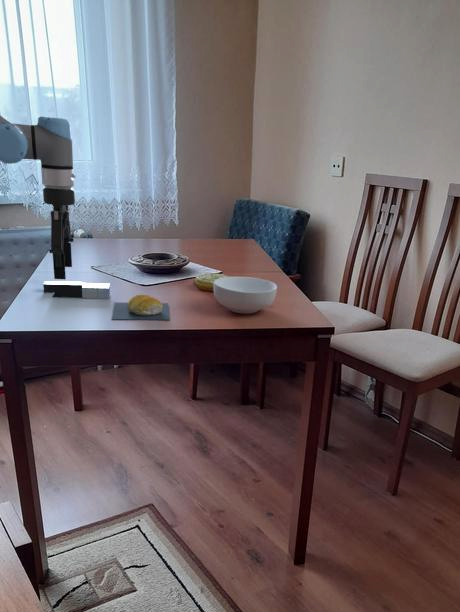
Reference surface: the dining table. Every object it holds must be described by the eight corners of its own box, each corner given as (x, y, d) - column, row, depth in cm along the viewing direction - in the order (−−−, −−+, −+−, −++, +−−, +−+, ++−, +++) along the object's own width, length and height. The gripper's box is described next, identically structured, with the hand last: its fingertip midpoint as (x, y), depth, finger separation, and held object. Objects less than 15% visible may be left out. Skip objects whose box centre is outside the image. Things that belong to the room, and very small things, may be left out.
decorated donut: (234, 292, 162) (234, 280, 160) (197, 292, 160) (198, 279, 158) (227, 283, 171) (228, 271, 169) (193, 283, 169) (193, 270, 167)
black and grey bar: (44, 297, 147) (42, 284, 146) (46, 293, 151) (45, 280, 150) (109, 298, 150) (108, 286, 148) (110, 294, 154) (109, 281, 152)
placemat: (112, 319, 134) (112, 319, 134) (115, 303, 147) (115, 302, 147) (169, 320, 136) (169, 319, 136) (168, 303, 149) (168, 303, 149)
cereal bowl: (284, 318, 143) (286, 291, 140) (222, 320, 139) (223, 292, 135) (262, 299, 157) (264, 274, 154) (205, 301, 153) (206, 275, 150)
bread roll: (147, 304, 147) (147, 289, 145) (167, 313, 141) (167, 297, 139) (120, 309, 142) (120, 293, 140) (140, 318, 136) (139, 302, 134)
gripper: (67, 193, 127) (72, 285, 137) (79, 183, 149) (82, 262, 159) (33, 191, 126) (41, 284, 136) (50, 181, 148) (55, 261, 157)
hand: (63, 272), depth 147 cm, fingers open, 13 cm apart
